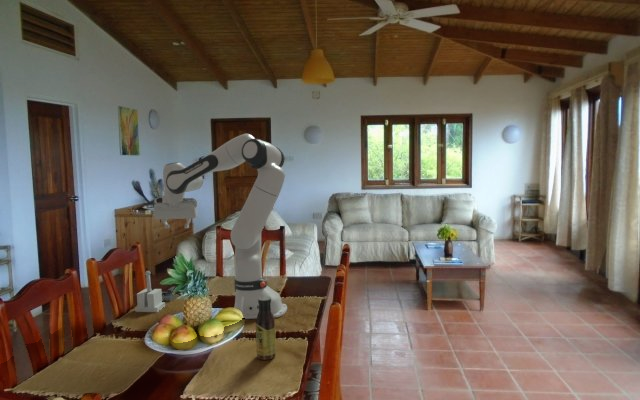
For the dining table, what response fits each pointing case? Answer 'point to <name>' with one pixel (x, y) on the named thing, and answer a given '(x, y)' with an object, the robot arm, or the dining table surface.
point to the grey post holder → (149, 298)
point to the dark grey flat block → (168, 295)
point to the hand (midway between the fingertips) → (177, 228)
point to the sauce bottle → (265, 330)
